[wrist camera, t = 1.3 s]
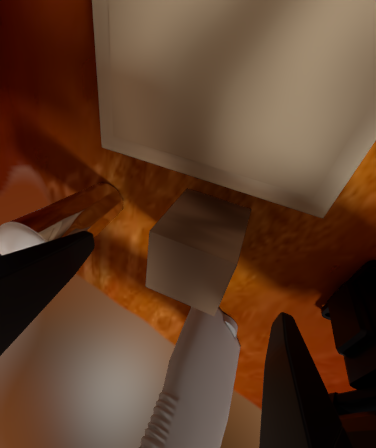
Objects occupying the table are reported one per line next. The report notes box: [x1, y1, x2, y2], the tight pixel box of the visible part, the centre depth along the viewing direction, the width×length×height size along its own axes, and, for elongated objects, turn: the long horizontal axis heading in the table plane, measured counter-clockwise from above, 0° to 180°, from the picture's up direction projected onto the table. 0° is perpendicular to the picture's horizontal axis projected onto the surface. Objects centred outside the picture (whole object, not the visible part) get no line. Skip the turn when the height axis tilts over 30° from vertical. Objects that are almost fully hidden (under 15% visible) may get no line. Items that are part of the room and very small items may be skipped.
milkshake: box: [0, 183, 124, 256], centre depth 16 cm, size 5×5×10 cm
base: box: [92, 0, 376, 218], centre depth 10 cm, size 14×12×3 cm
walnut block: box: [146, 188, 251, 316], centre depth 16 cm, size 5×5×6 cm
